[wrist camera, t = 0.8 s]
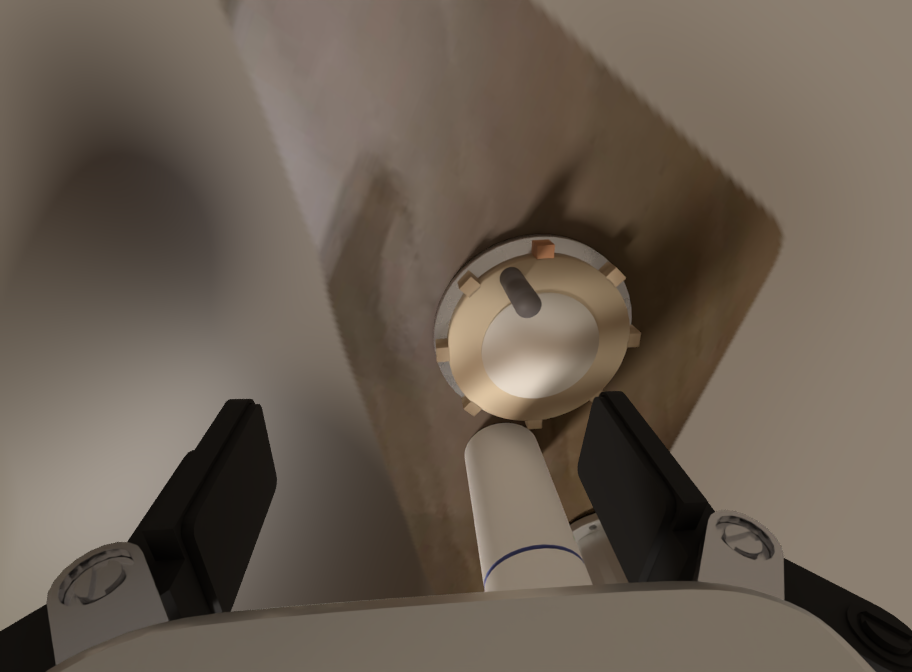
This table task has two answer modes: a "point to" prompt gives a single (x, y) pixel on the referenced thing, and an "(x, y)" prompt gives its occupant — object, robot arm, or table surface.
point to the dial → (537, 335)
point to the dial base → (492, 259)
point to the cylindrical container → (519, 514)
